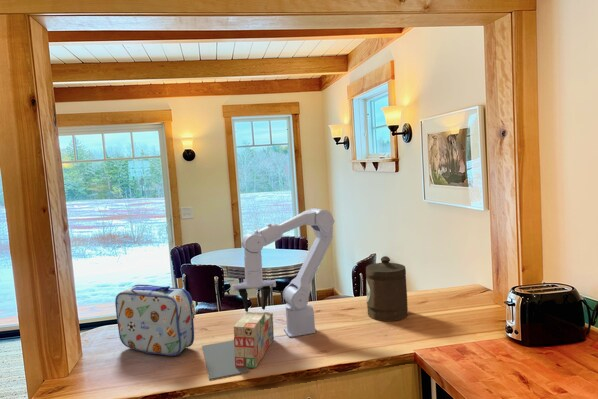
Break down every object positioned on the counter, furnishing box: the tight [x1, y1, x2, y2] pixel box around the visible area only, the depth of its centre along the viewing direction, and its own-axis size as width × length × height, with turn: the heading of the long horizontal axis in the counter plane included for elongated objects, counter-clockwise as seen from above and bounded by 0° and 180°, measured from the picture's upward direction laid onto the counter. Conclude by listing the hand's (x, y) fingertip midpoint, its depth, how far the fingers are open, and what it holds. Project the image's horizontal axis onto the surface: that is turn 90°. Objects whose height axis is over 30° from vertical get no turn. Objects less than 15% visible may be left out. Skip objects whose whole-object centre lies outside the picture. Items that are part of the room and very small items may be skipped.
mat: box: [201, 339, 250, 381], centre depth 135 cm, size 11×24×1 cm, turn 17°
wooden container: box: [365, 255, 409, 322], centre depth 165 cm, size 15×15×22 cm
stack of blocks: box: [233, 311, 275, 369], centre depth 138 cm, size 21×6×12 cm, turn 169°
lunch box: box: [114, 284, 197, 357], centre depth 144 cm, size 28×10×22 cm, turn 68°
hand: (255, 309), depth 147 cm, fingers open, 5 cm apart
